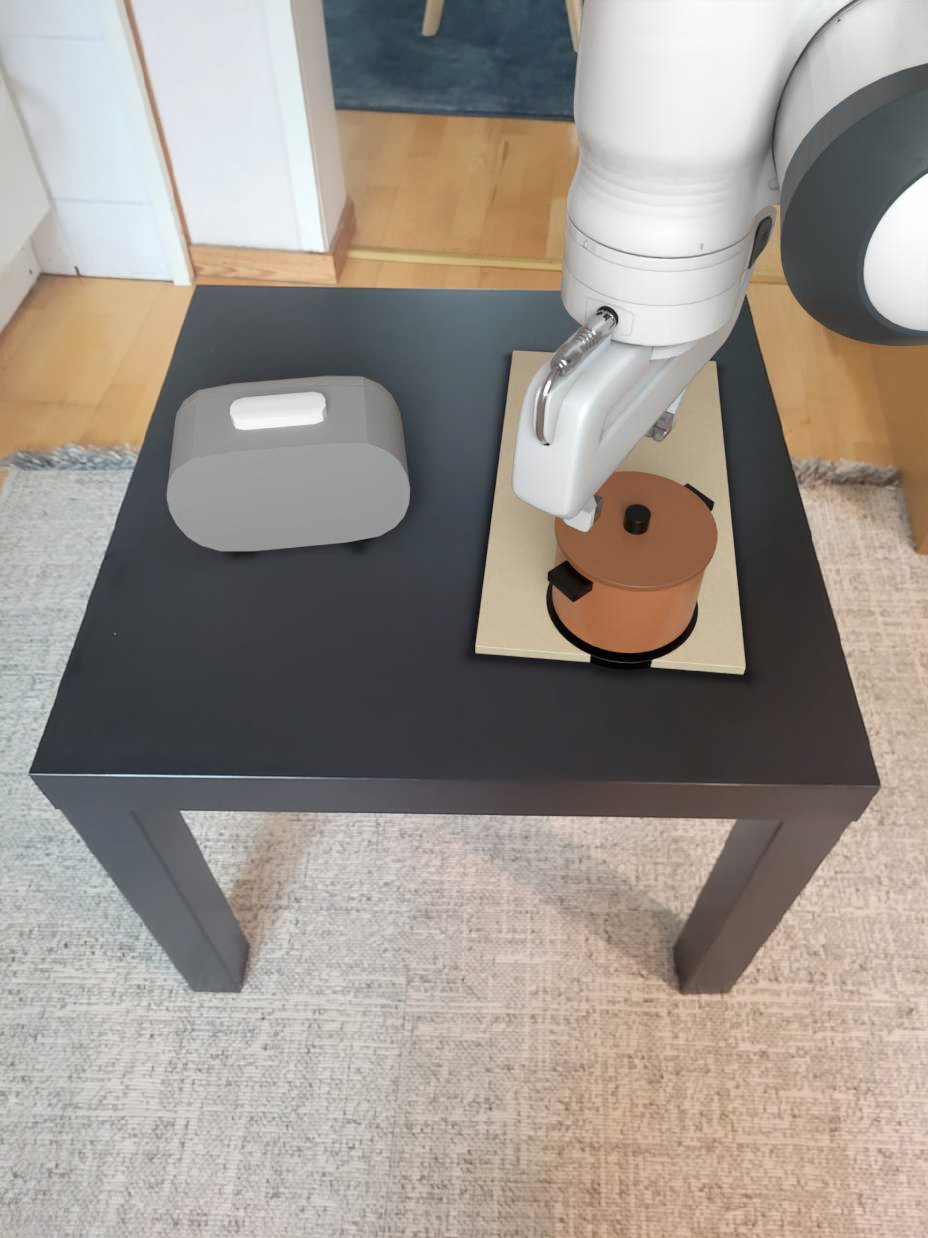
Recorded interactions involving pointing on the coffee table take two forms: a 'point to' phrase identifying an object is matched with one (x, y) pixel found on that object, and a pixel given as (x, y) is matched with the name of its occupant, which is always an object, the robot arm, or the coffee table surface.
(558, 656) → the hob
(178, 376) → the coffee table surface
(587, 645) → the black round disc
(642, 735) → the coffee table surface
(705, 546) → the pot
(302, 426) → the alarm clock
